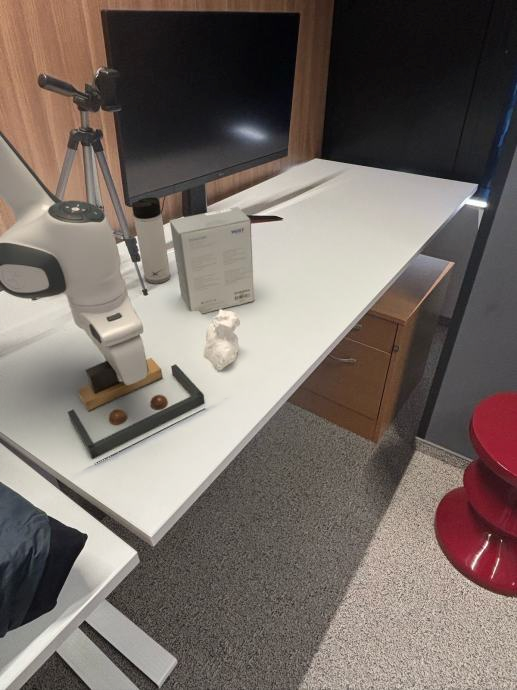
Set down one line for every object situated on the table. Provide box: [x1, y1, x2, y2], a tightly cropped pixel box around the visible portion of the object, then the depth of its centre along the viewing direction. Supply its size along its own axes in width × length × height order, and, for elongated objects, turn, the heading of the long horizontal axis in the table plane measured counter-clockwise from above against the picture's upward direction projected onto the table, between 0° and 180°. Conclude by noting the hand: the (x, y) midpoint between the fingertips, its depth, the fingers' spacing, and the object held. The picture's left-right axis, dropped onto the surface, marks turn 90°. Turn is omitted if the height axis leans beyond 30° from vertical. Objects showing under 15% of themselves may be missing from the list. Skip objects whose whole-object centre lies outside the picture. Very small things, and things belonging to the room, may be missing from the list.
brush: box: [77, 354, 164, 413], centre depth 84 cm, size 14×4×7 cm, turn 126°
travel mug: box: [131, 197, 171, 285], centre depth 113 cm, size 6×7×20 cm
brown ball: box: [149, 394, 169, 411], centre depth 83 cm, size 3×3×3 cm
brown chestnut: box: [108, 408, 128, 426], centre depth 80 cm, size 3×3×3 cm
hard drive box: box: [168, 206, 255, 315], centre depth 104 cm, size 16×8×20 cm, turn 113°
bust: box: [203, 309, 241, 372], centre depth 92 cm, size 12×8×11 cm
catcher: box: [67, 363, 206, 465], centre depth 81 cm, size 20×10×4 cm, turn 126°
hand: (118, 372), depth 84 cm, fingers closed on brush, 2 cm apart
